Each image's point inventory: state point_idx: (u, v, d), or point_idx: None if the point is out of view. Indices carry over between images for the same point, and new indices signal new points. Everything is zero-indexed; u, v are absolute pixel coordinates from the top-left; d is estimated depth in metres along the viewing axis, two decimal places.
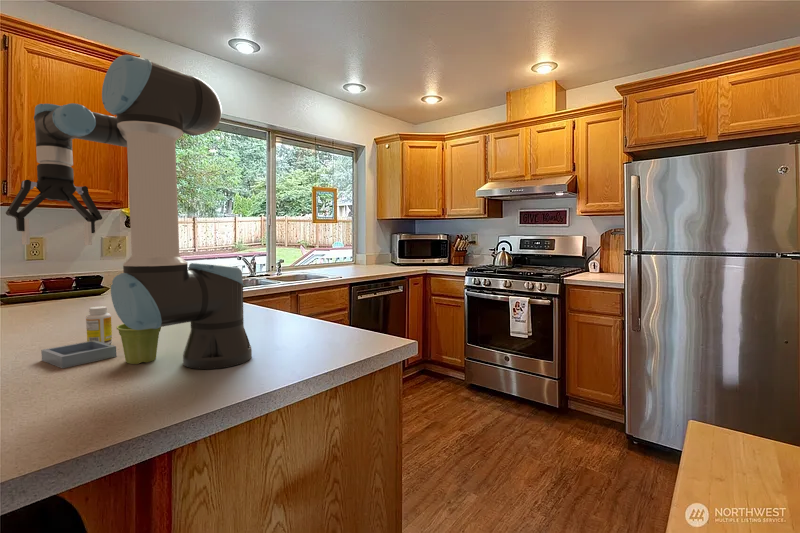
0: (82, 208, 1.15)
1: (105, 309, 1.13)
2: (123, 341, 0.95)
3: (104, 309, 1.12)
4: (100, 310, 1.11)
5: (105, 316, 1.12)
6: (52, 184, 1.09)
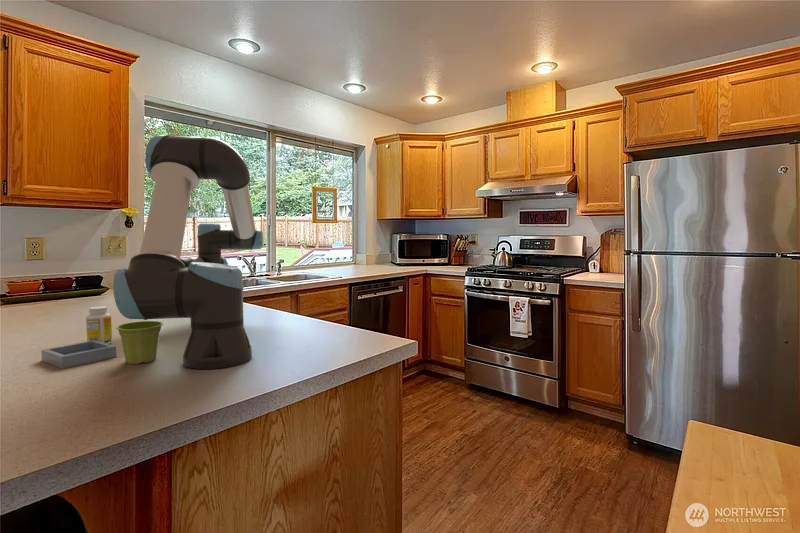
0: None
1: (105, 309, 1.13)
2: (123, 341, 0.95)
3: (104, 309, 1.12)
4: (100, 310, 1.11)
5: (105, 316, 1.12)
6: None
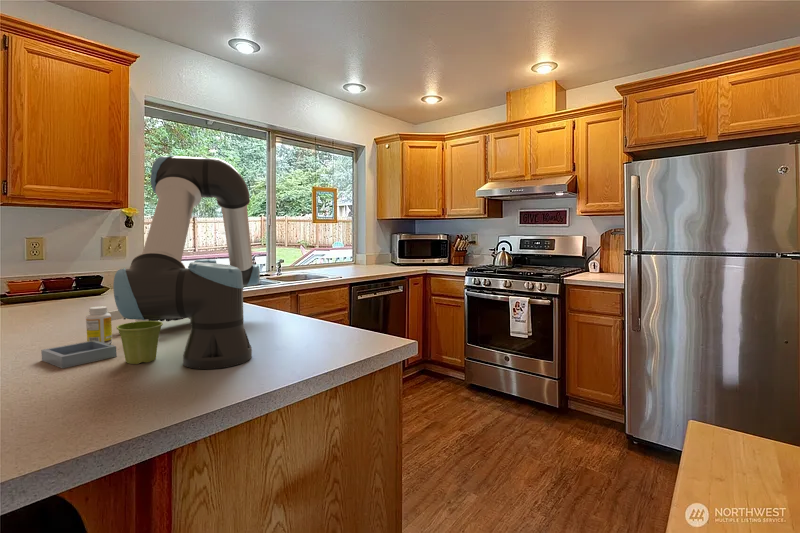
0: None
1: (105, 309, 1.13)
2: (123, 341, 0.95)
3: (104, 309, 1.12)
4: (100, 310, 1.11)
5: (105, 316, 1.12)
6: None
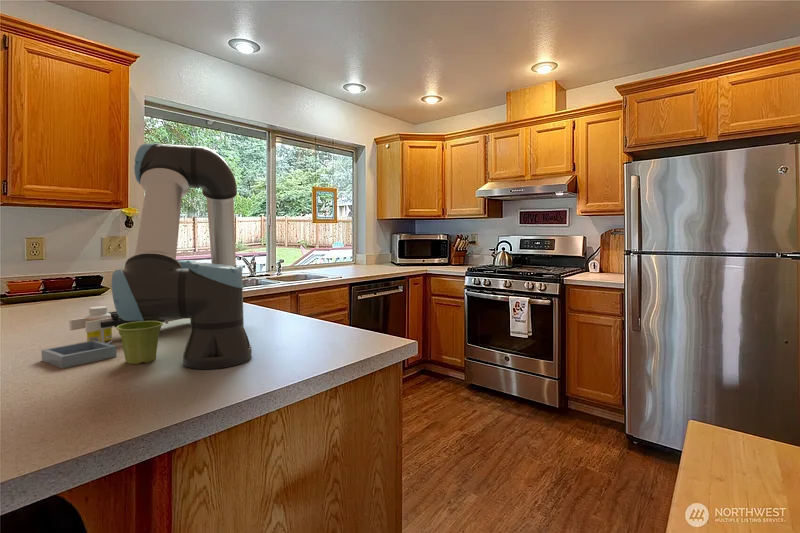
0: None
1: (105, 309, 1.13)
2: (123, 341, 0.95)
3: (104, 309, 1.12)
4: (100, 310, 1.11)
5: (105, 316, 1.12)
6: None
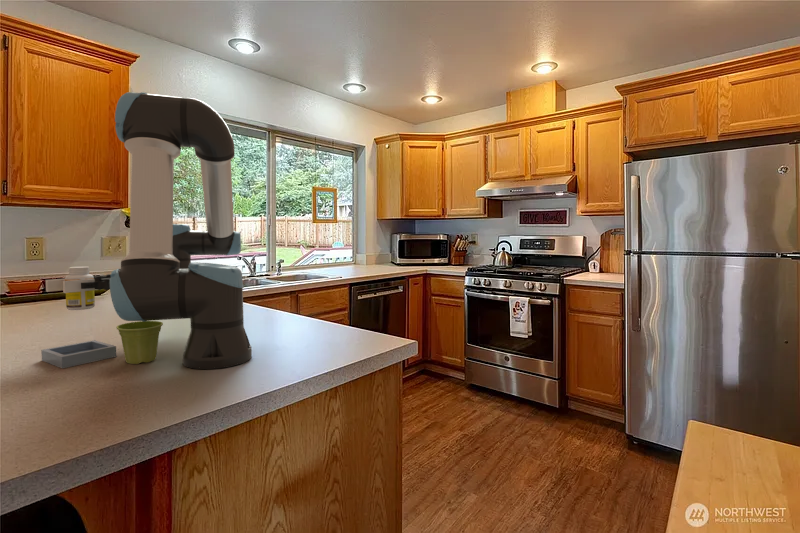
0: None
1: (87, 269, 1.00)
2: (123, 341, 0.95)
3: (85, 269, 1.00)
4: (80, 269, 0.99)
5: (86, 276, 1.00)
6: None
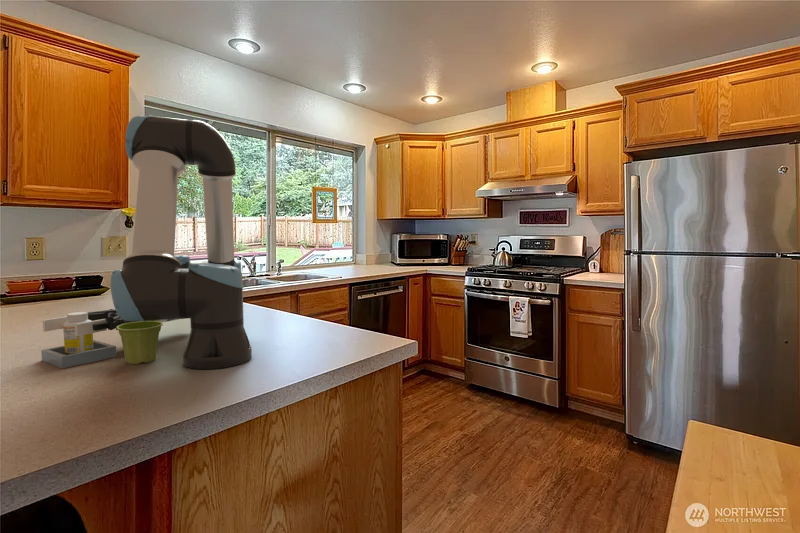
0: (117, 316, 1.04)
1: (85, 315, 0.99)
2: (123, 341, 0.95)
3: (84, 315, 0.99)
4: (79, 316, 0.98)
5: None
6: None
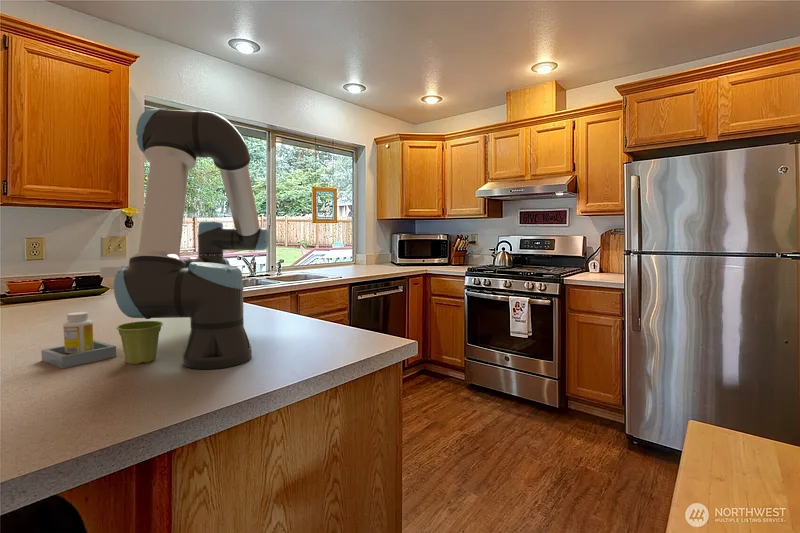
0: None
1: (85, 315, 0.99)
2: (123, 341, 0.95)
3: (84, 315, 0.99)
4: (79, 316, 0.98)
5: (85, 323, 0.99)
6: None
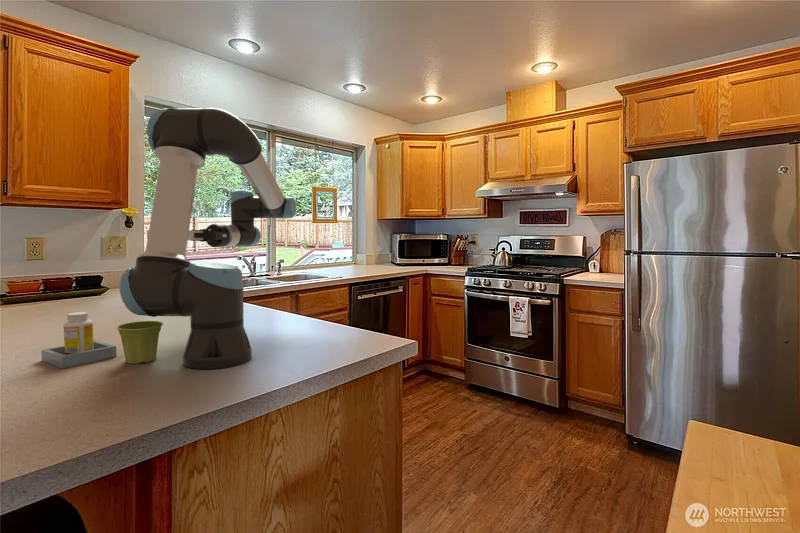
0: None
1: (86, 315, 0.99)
2: (123, 341, 0.95)
3: (84, 315, 0.99)
4: (79, 316, 0.98)
5: (85, 323, 0.99)
6: None
